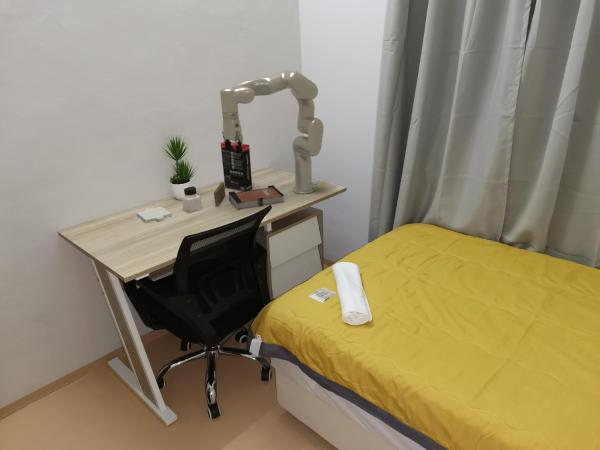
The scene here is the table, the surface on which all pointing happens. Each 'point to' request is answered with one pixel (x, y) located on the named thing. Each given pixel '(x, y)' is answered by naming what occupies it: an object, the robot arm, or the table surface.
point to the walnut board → (219, 194)
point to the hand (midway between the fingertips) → (233, 151)
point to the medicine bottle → (191, 200)
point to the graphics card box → (237, 167)
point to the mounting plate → (154, 214)
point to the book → (256, 197)
